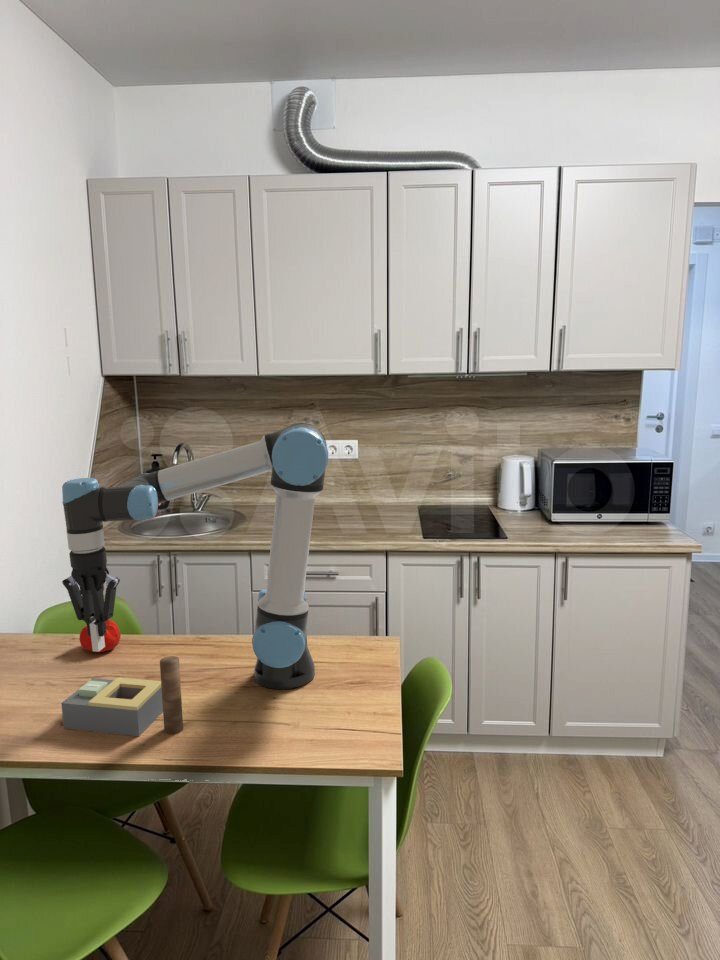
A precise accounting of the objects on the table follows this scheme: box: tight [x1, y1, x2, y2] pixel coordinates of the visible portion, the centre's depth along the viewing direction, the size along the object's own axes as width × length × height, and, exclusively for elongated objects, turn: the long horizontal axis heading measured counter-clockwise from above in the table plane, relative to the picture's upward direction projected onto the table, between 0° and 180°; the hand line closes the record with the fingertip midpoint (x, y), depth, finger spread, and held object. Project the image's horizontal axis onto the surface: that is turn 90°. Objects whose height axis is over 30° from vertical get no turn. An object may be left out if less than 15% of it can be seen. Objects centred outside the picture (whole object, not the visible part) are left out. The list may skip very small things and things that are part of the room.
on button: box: [78, 680, 108, 698], centre depth 159 cm, size 4×4×4 cm
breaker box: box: [61, 676, 163, 737], centre depth 158 cm, size 18×12×7 cm, turn 78°
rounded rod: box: [159, 655, 184, 735], centre depth 153 cm, size 4×4×16 cm
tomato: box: [78, 619, 121, 654], centre depth 196 cm, size 11×11×8 cm
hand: (99, 648), depth 161 cm, fingers closed
